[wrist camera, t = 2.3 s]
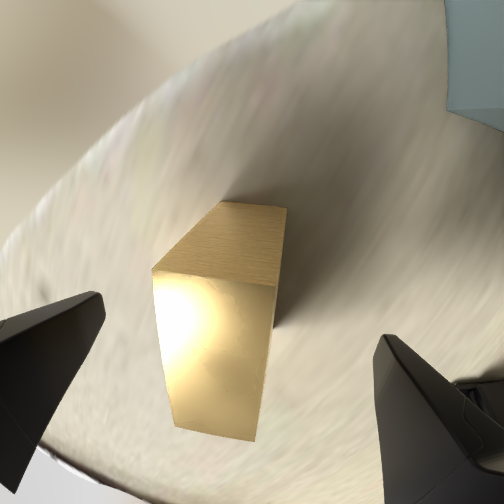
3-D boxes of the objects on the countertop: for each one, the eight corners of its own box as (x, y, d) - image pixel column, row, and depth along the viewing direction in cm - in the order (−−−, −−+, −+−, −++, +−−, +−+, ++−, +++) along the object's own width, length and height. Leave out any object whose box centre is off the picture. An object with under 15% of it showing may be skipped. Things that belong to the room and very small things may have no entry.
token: (272, 328, 13) (254, 441, 8) (217, 320, 14) (174, 426, 8) (287, 207, 11) (276, 286, 6) (221, 200, 11) (152, 268, 6)
